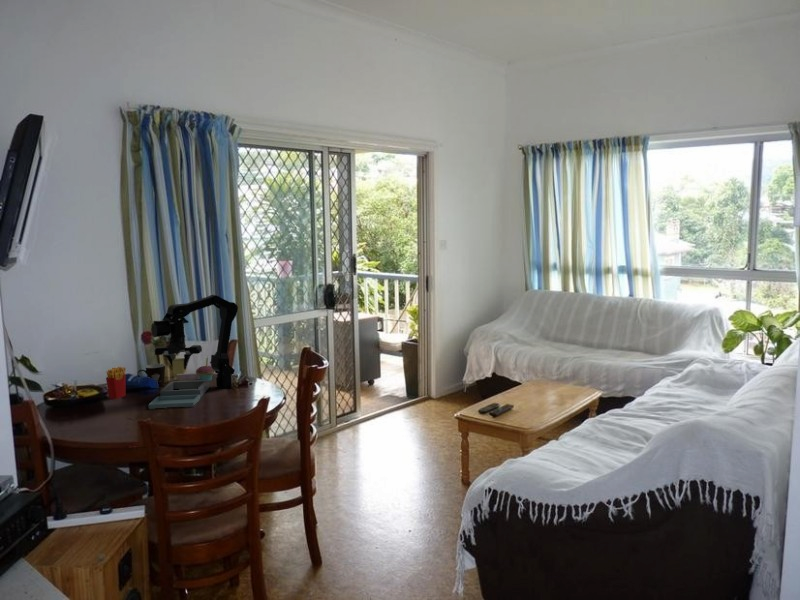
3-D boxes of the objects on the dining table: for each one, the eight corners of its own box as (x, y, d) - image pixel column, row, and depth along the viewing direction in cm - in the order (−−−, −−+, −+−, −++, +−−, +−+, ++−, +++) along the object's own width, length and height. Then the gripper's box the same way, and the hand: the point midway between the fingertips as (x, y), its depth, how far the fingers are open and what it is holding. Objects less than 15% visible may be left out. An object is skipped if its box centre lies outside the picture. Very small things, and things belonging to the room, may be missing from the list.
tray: (200, 399, 272) (200, 394, 272) (193, 407, 260) (193, 402, 260) (157, 401, 271) (157, 396, 270) (148, 409, 259) (148, 404, 259)
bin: (209, 387, 291) (208, 379, 291) (200, 397, 274) (200, 389, 274) (171, 388, 290) (170, 381, 290) (160, 399, 273) (159, 391, 273)
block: (186, 371, 277) (185, 358, 277) (183, 373, 273) (182, 360, 272) (176, 371, 277) (175, 358, 276) (173, 374, 273) (172, 360, 272)
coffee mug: (170, 384, 298) (168, 363, 297) (161, 389, 290) (159, 368, 289) (146, 384, 300) (144, 363, 298) (137, 389, 291) (135, 368, 290)
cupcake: (218, 379, 306) (217, 354, 305) (206, 383, 299) (205, 358, 297) (204, 377, 310) (203, 353, 308) (192, 381, 302) (190, 357, 301)
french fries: (112, 400, 274) (110, 370, 272) (105, 399, 276) (103, 370, 274) (129, 394, 282) (127, 366, 281) (122, 393, 284) (120, 365, 282)
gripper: (149, 338, 264) (151, 374, 266) (194, 336, 266) (196, 373, 267) (157, 333, 276) (160, 368, 277) (201, 332, 277) (203, 367, 278)
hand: (179, 369), depth 275 cm, fingers closed on block, 4 cm apart
